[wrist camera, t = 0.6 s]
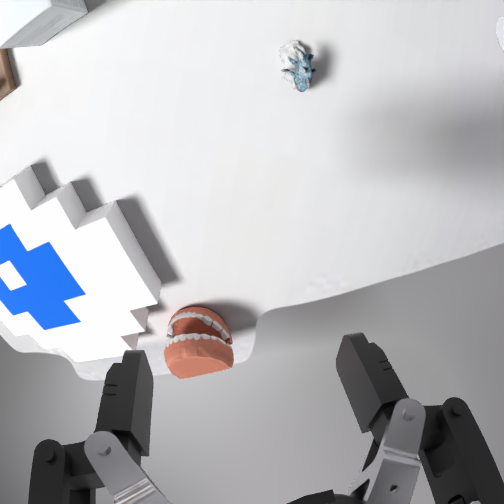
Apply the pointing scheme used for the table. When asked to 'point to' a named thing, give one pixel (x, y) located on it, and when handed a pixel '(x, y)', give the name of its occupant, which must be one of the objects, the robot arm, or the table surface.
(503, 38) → the beer glass
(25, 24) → the product box
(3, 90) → the U-rest
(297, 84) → the sculpture
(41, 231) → the pixel art tile
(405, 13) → the table surface
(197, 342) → the dentures
